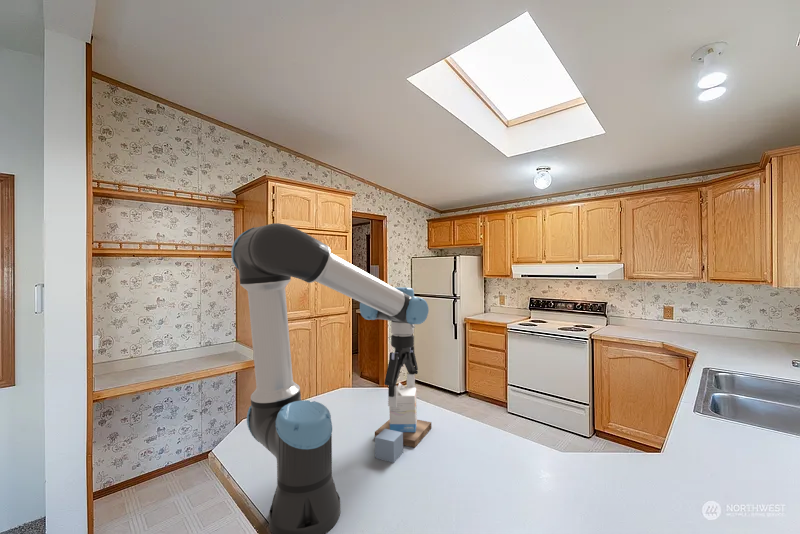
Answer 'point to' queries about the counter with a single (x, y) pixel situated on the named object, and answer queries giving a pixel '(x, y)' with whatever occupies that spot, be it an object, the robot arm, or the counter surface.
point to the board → (410, 437)
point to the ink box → (404, 410)
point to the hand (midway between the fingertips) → (402, 399)
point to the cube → (389, 445)
